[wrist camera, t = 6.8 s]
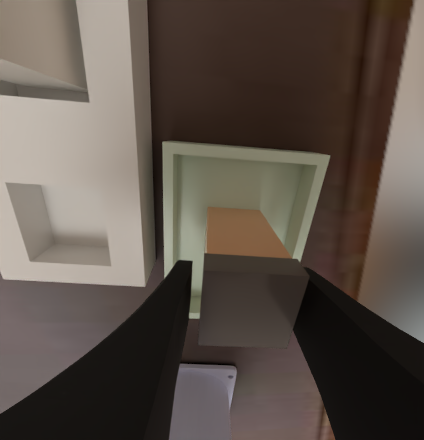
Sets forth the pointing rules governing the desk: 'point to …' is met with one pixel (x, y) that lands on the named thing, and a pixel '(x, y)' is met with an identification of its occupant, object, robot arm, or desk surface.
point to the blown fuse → (247, 282)
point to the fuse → (41, 45)
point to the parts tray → (235, 196)
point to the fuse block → (83, 162)
